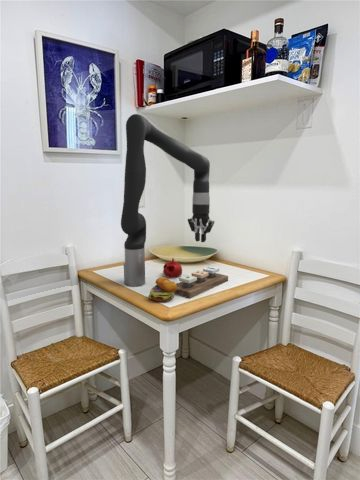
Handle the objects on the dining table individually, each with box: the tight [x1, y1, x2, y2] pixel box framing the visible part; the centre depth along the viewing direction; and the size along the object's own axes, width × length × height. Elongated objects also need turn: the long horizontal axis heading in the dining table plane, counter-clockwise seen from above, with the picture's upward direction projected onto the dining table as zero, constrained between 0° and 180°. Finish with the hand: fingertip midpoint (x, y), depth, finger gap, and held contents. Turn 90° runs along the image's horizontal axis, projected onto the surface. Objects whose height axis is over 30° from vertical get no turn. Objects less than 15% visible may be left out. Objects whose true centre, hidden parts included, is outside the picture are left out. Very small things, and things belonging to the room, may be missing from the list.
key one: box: [178, 274, 197, 288], centre depth 146 cm, size 6×6×4 cm
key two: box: [191, 270, 209, 283], centre depth 153 cm, size 6×6×4 cm
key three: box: [202, 266, 220, 278], centre depth 160 cm, size 6×6×4 cm
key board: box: [174, 272, 229, 299], centre depth 153 cm, size 12×30×2 cm, turn 141°
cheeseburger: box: [148, 276, 177, 303], centre depth 138 cm, size 10×11×10 cm
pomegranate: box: [162, 258, 183, 279], centre depth 168 cm, size 10×10×9 cm
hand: (200, 241), depth 150 cm, fingers open, 2 cm apart
